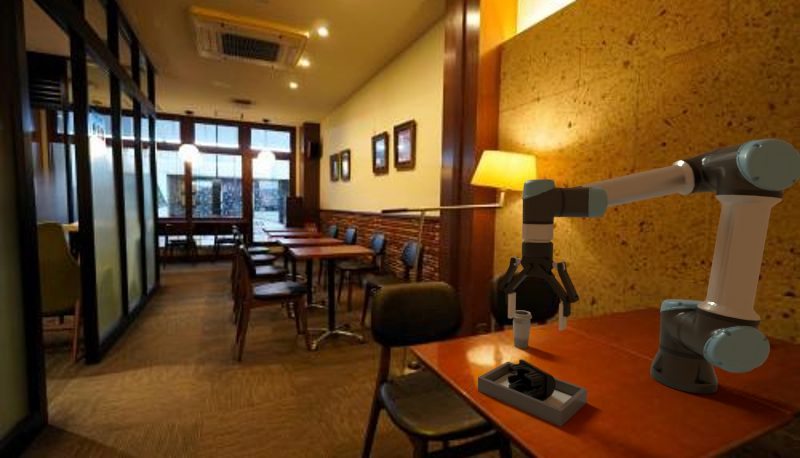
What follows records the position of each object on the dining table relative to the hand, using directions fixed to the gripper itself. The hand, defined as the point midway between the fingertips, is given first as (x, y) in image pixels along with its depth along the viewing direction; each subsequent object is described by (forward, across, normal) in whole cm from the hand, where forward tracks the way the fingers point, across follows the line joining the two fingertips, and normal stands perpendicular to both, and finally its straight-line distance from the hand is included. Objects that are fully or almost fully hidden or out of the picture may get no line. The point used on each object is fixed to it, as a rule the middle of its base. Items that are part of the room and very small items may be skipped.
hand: (535, 323), depth 96 cm
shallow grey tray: (+19, 0, +2) cm, 19 cm away
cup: (+19, +19, -28) cm, 39 cm away
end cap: (+18, 0, +2) cm, 18 cm away
